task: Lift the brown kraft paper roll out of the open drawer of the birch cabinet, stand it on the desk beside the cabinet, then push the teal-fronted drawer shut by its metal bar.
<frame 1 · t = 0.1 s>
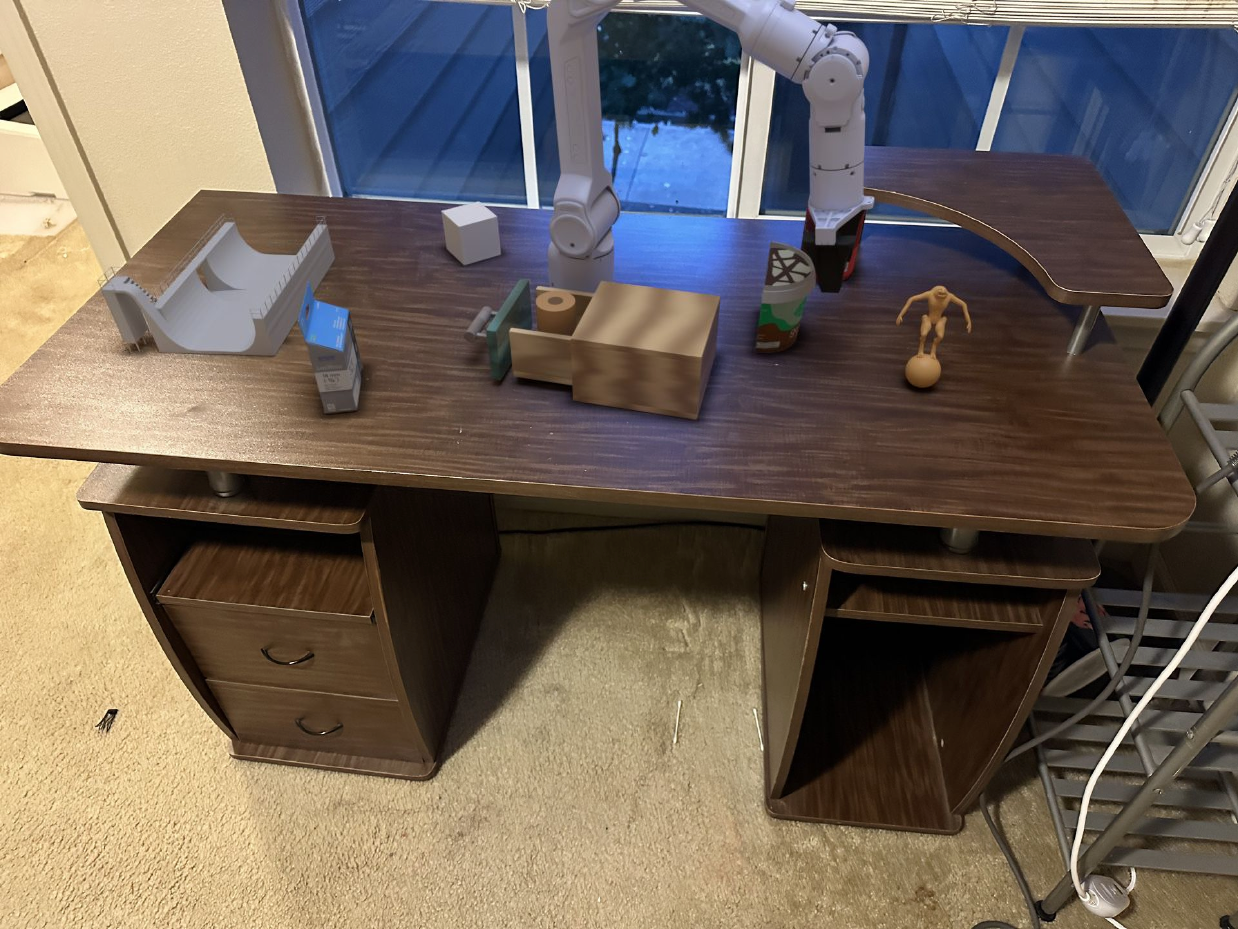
hand: (836, 275, 100), 11 cm above the table, tool pointing down, fingers open, 7 cm apart
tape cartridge: (345, 392, 101), on the table
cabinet: (646, 377, 103), on the table
paper roll: (558, 351, 103), point 2 cm above the table, touching drawer
drawer: (542, 333, 102), point 4 cm above the table, slide at 9.0 cm, touching paper roll
figurine: (918, 380, 103), on the table
food container: (781, 336, 110), on the table
skate ramp: (240, 302, 116), on the table
canned food: (824, 272, 123), on the table
white cube: (473, 252, 127), on the table
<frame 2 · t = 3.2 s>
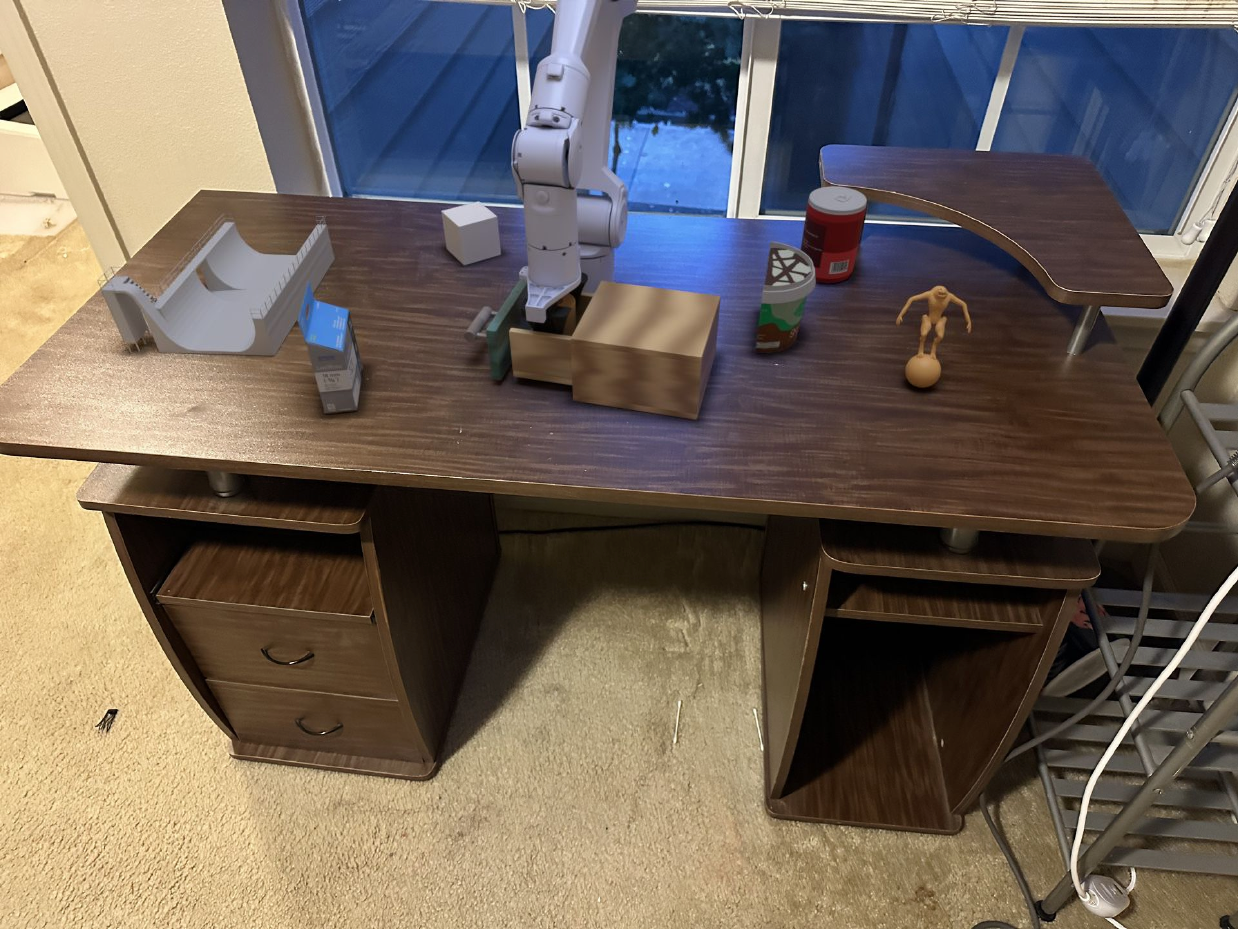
hand: (557, 342, 103), 3 cm above the table, tool pointing down, fingers closed on paper roll, 4 cm apart
paper roll: (558, 351, 103), point 2 cm above the table, touching drawer, gripper
everything else where it was.
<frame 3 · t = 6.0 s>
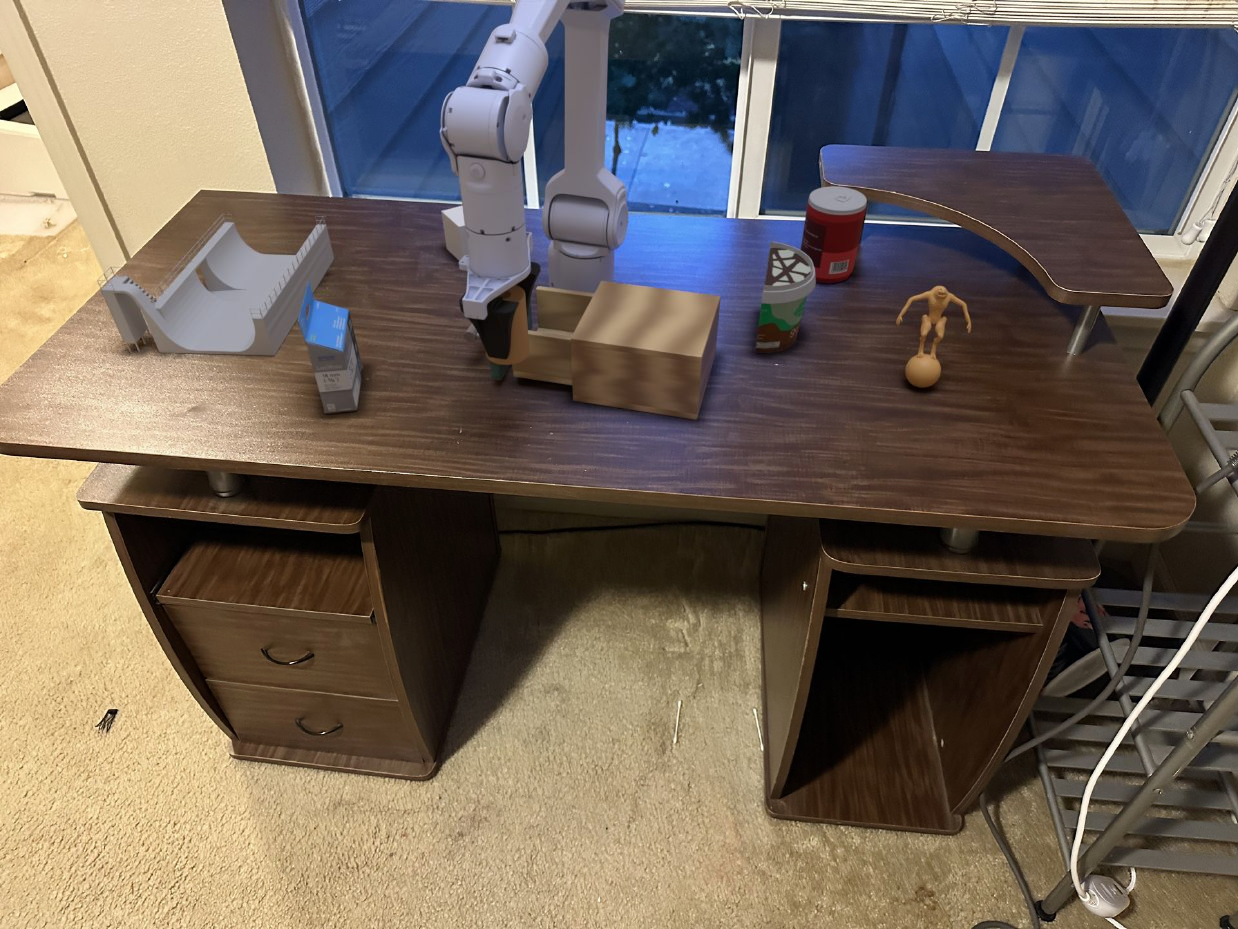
hand: (507, 342, 90), 10 cm above the table, tool pointing down, fingers closed on paper roll, 4 cm apart
paper roll: (507, 352, 90), point 9 cm above the table, touching gripper
drawer: (542, 333, 102), point 4 cm above the table, slide at 9.0 cm
everything else where it was.
when the fingers open (1 cm above the table, at t = 8.9 s): paper roll stays where it is, on the table.
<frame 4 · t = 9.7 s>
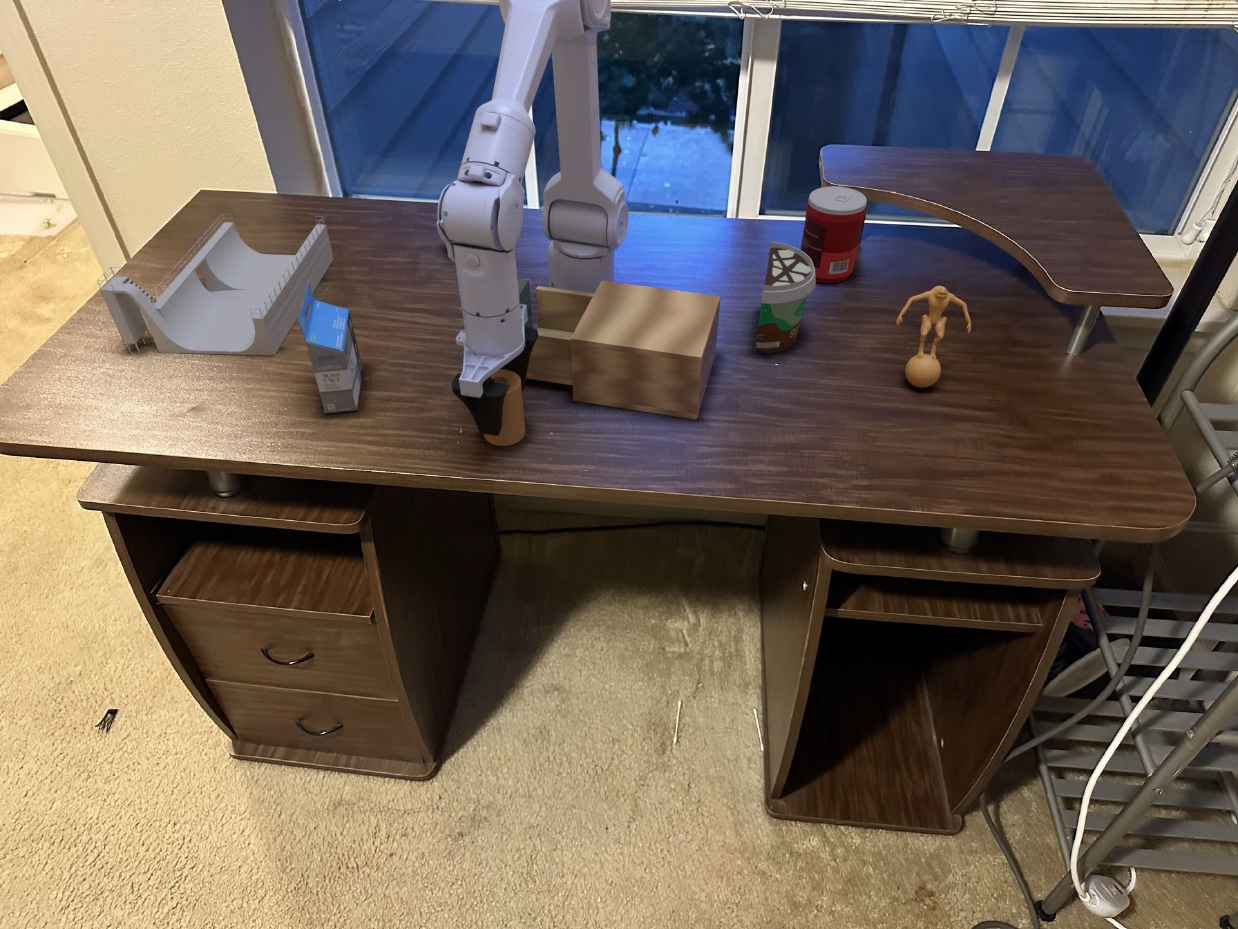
hand: (502, 410, 93), 3 cm above the table, tool pointing down, fingers open, 7 cm apart
paper roll: (504, 432, 95), on the table
everything else where it was.
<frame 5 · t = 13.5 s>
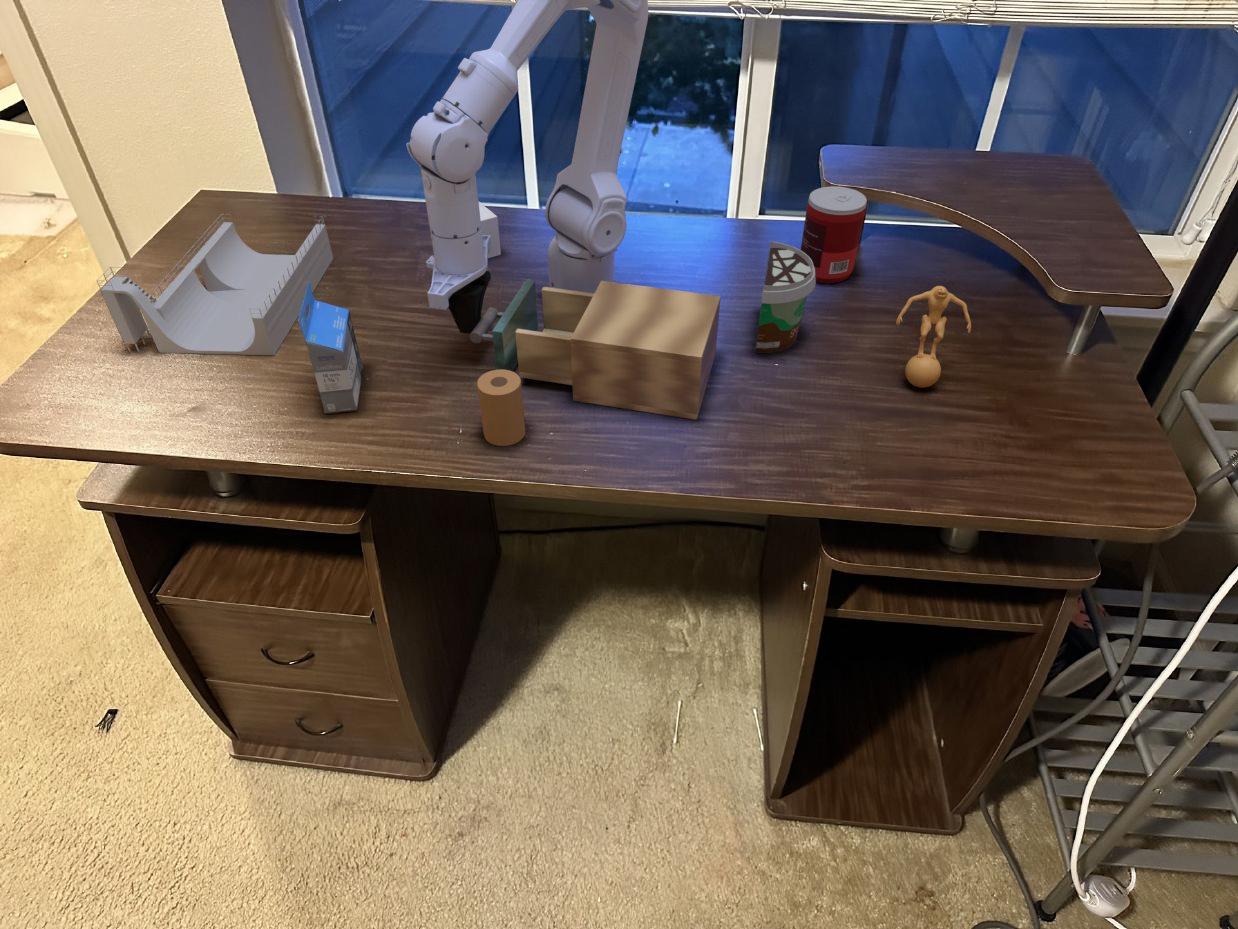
hand: (469, 330, 105), 3 cm above the table, tool pointing down, fingers closed, pressing on drawer
drawer: (548, 333, 102), point 4 cm above the table, slide at 8.2 cm, touching gripper
everything else where it was.
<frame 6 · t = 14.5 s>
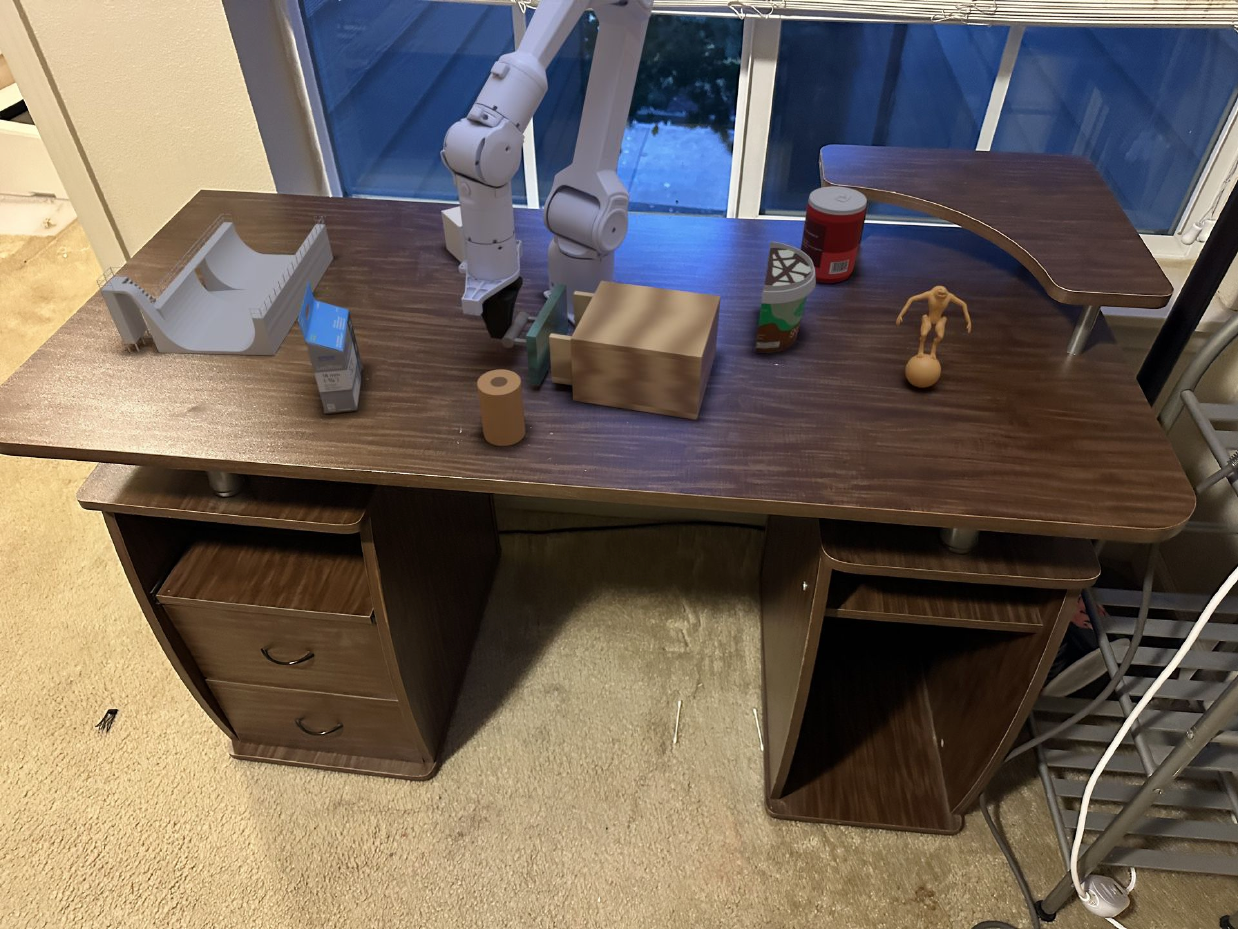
hand: (500, 336, 104), 3 cm above the table, tool pointing down, fingers closed, pressing on drawer
drawer: (580, 338, 101), point 4 cm above the table, slide at 4.2 cm, touching gripper
everything else where it was.
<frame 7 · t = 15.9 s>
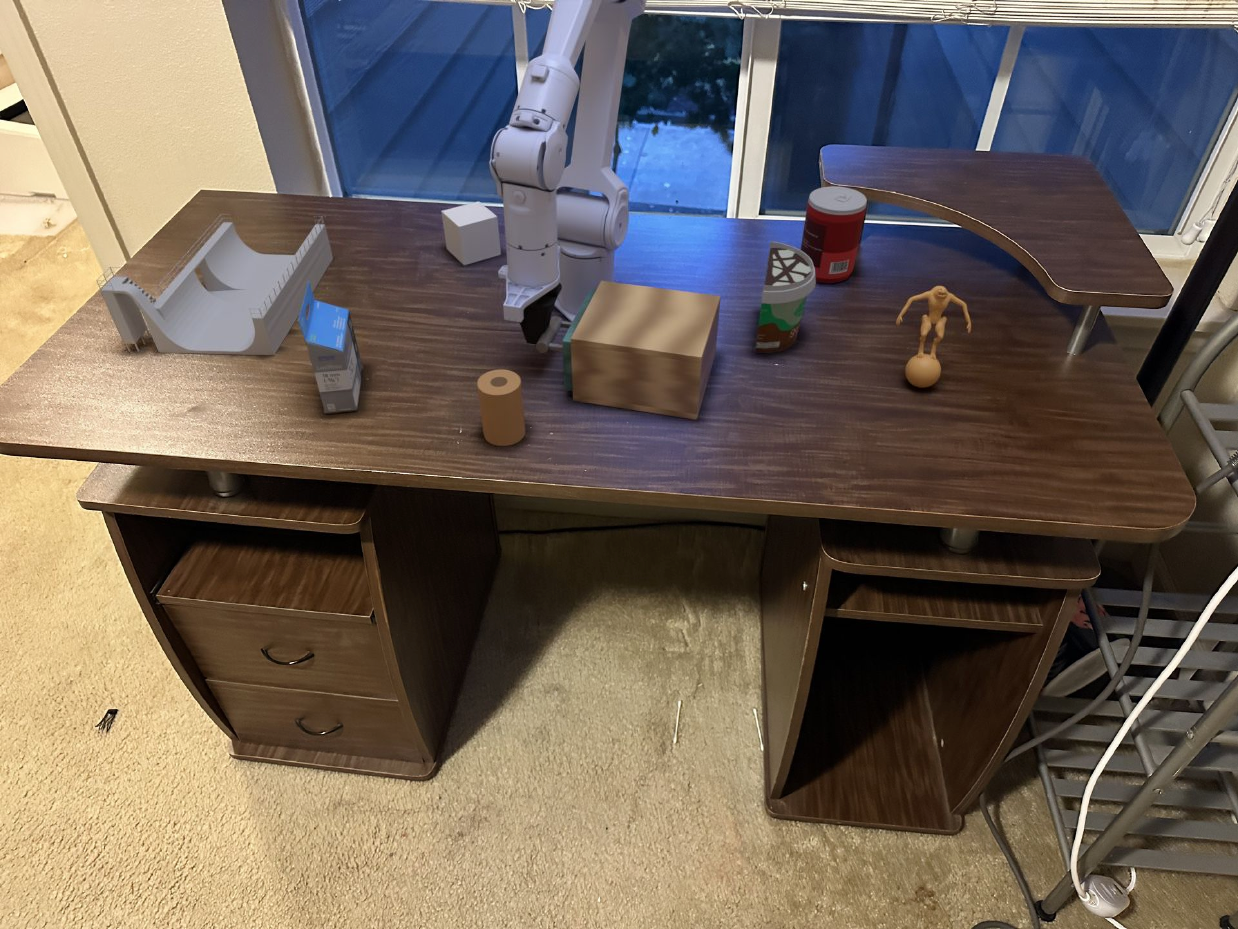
hand: (536, 341, 103), 3 cm above the table, tool pointing down, fingers closed, pressing on drawer
drawer: (615, 343, 101), point 4 cm above the table, slide at 0.0 cm, touching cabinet, gripper
everything else where it was.
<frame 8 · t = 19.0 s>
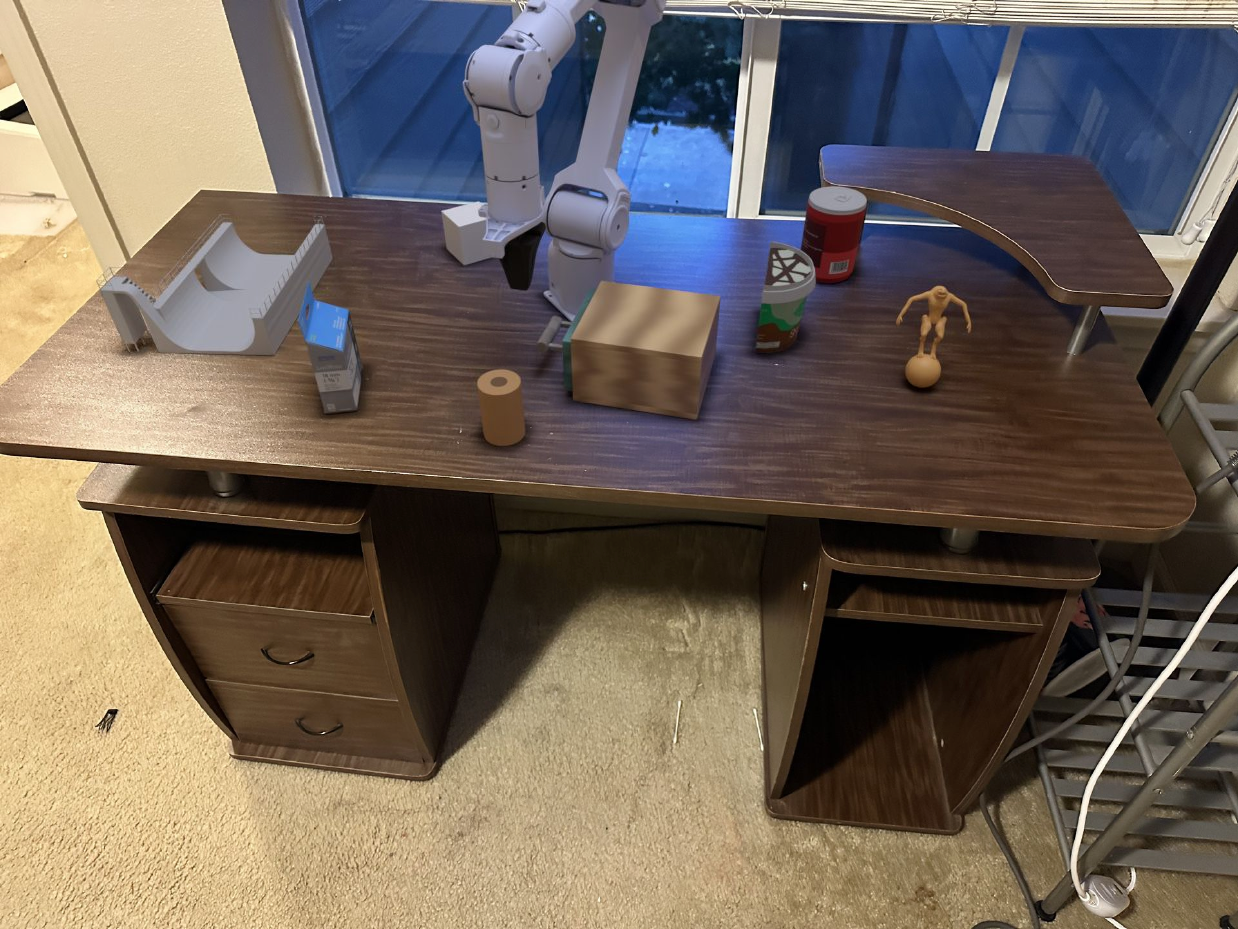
hand: (520, 287, 98), 10 cm above the table, tool pointing down, fingers closed
drawer: (615, 343, 101), point 4 cm above the table, slide at 0.0 cm, touching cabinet
everything else where it was.
at the end: paper roll 0.0 cm from the target spot, on the table; paper roll tilted 0°; drawer slide at 0.0 cm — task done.
